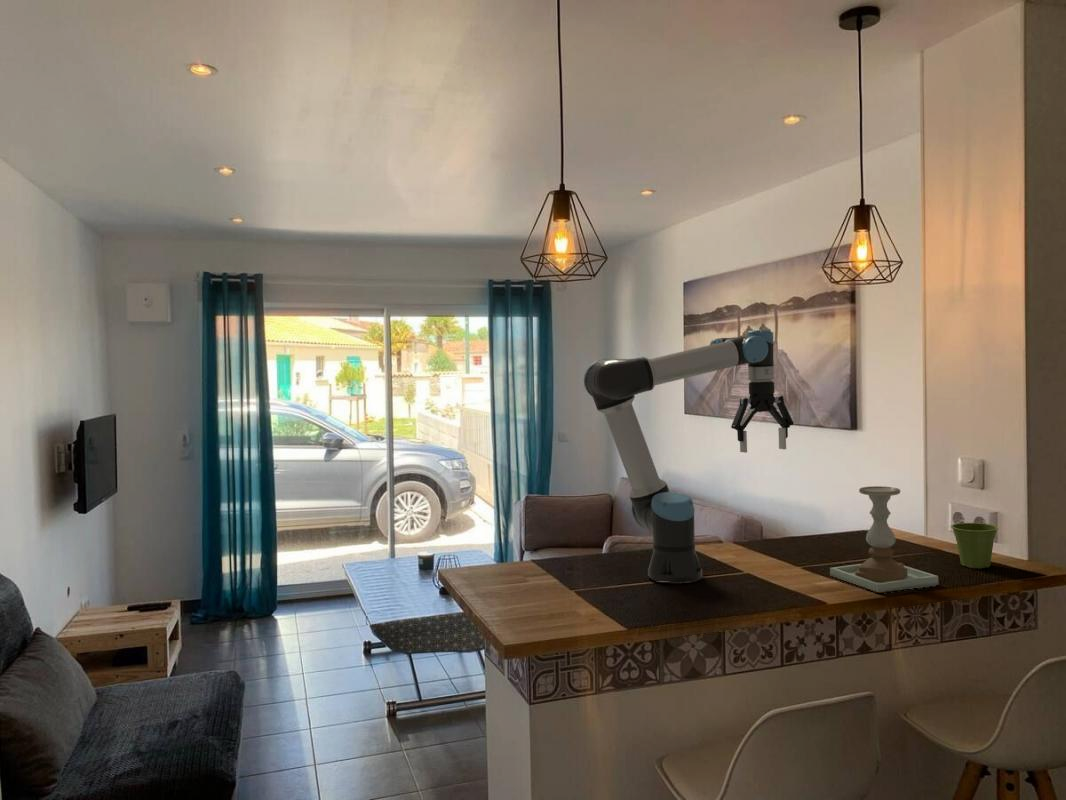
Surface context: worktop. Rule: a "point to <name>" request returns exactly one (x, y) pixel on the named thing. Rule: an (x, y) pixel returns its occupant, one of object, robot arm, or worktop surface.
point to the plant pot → (975, 543)
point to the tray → (911, 581)
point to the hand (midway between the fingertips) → (763, 450)
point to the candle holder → (881, 540)
